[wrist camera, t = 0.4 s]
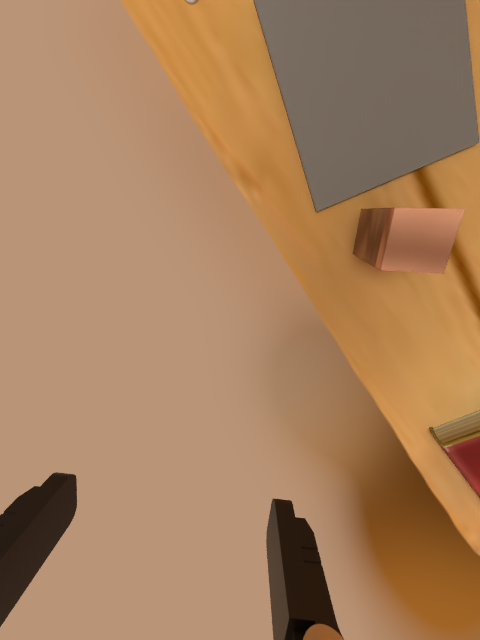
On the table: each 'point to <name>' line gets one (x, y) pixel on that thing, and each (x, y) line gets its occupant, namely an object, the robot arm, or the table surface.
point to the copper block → (407, 238)
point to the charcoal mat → (371, 87)
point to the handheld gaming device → (191, 1)
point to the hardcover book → (462, 446)
